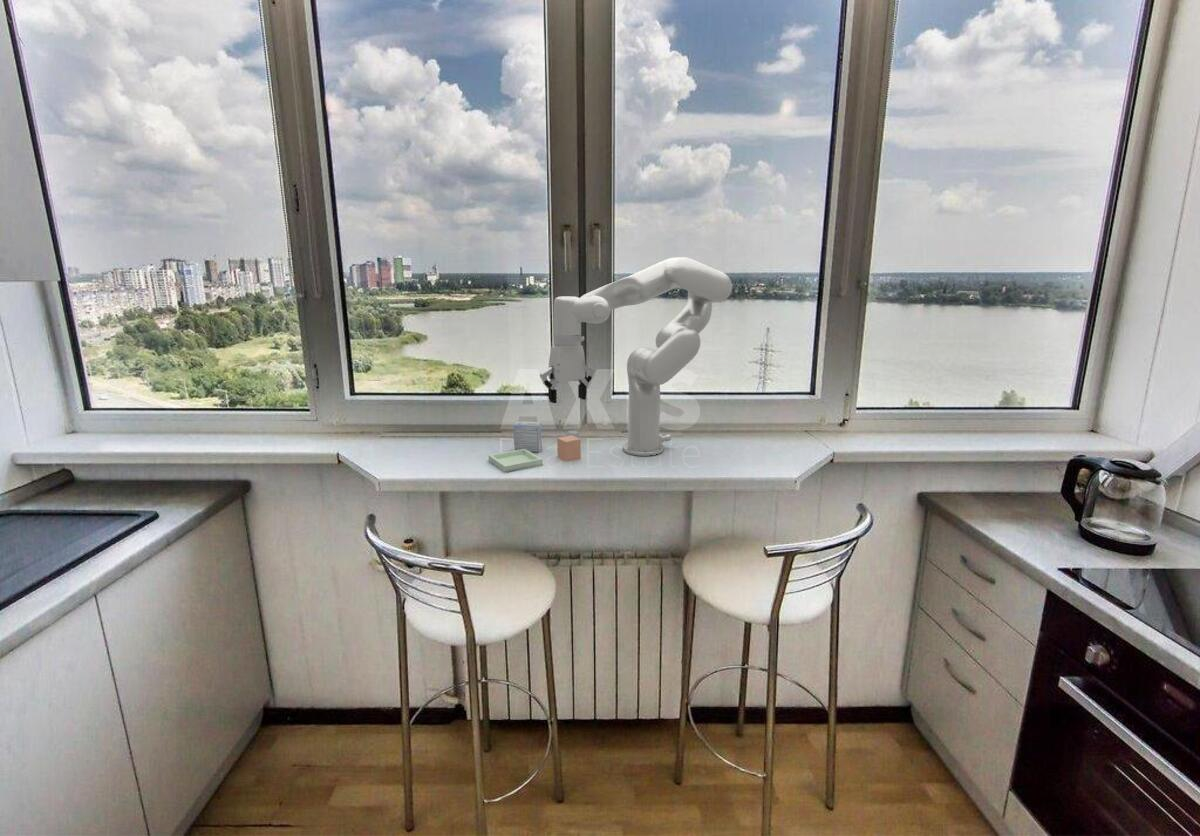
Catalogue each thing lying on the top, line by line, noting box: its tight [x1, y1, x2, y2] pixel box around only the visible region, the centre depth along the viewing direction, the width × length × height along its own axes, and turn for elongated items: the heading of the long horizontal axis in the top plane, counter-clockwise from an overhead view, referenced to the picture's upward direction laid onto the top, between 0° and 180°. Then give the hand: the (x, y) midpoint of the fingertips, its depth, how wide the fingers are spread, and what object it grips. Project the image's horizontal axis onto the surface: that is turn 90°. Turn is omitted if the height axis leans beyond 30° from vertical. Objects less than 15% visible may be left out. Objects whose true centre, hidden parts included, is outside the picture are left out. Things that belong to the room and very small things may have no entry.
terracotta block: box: [556, 435, 582, 462], centre depth 166 cm, size 5×5×6 cm
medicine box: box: [513, 421, 543, 453], centre depth 173 cm, size 8×4×9 cm, turn 84°
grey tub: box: [565, 430, 580, 439], centre depth 176 cm, size 4×4×5 cm
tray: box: [488, 449, 544, 473], centre depth 162 cm, size 12×12×2 cm
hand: (567, 400), depth 163 cm, fingers open, 9 cm apart
